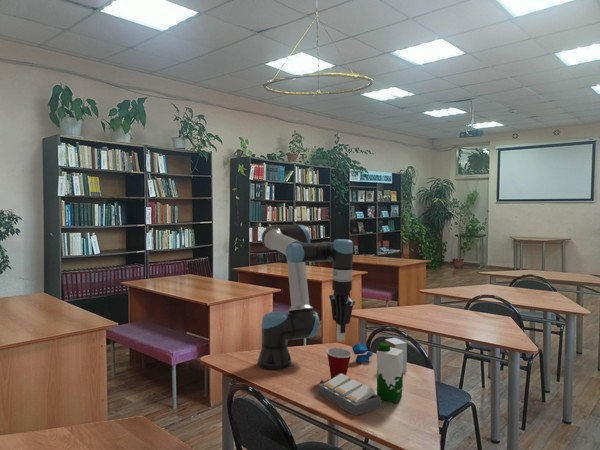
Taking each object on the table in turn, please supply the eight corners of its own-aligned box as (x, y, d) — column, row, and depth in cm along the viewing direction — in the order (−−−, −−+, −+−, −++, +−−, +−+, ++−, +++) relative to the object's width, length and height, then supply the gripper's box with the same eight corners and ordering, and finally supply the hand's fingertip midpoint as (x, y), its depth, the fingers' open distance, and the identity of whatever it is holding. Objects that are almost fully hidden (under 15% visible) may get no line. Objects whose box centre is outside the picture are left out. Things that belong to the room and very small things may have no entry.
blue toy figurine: (377, 346, 196) (360, 345, 189) (374, 364, 195) (357, 364, 188) (365, 342, 202) (348, 341, 194) (362, 360, 201) (345, 360, 193)
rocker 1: (324, 388, 159) (323, 383, 159) (342, 377, 164) (341, 372, 164) (332, 392, 155) (331, 388, 155) (350, 381, 160) (349, 377, 160)
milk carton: (382, 391, 162) (382, 340, 162) (405, 397, 157) (405, 344, 157) (373, 399, 155) (374, 346, 154) (397, 405, 150) (398, 350, 149)
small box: (383, 368, 187) (384, 339, 187) (395, 366, 190) (396, 337, 189) (394, 374, 180) (395, 344, 179) (406, 372, 182) (407, 342, 182)
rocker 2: (335, 393, 154) (334, 388, 154) (353, 383, 159) (352, 378, 158) (343, 398, 150) (343, 393, 149) (362, 388, 155) (361, 383, 154)
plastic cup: (350, 386, 167) (351, 356, 166) (323, 384, 169) (324, 354, 168) (353, 376, 177) (353, 348, 177) (327, 374, 179) (327, 346, 179)
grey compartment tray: (309, 388, 164) (309, 379, 164) (333, 381, 171) (333, 372, 171) (355, 415, 142) (355, 405, 142) (380, 406, 149) (381, 396, 149)
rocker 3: (346, 401, 148) (345, 396, 148) (365, 388, 153) (364, 384, 153) (356, 406, 144) (355, 401, 144) (374, 393, 149) (373, 388, 149)
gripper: (324, 277, 164) (322, 337, 165) (345, 283, 153) (343, 347, 154) (339, 276, 168) (337, 334, 169) (360, 281, 157) (359, 343, 158)
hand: (340, 340), depth 162 cm, fingers closed
